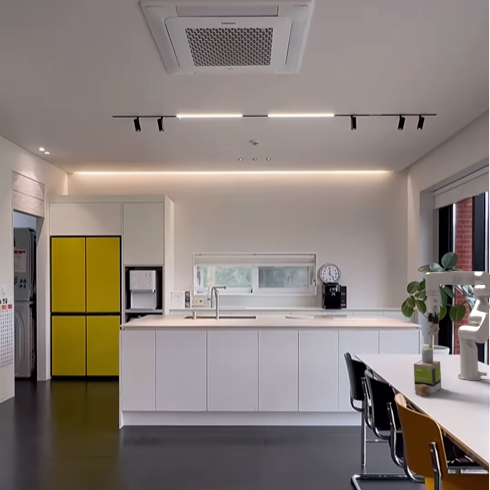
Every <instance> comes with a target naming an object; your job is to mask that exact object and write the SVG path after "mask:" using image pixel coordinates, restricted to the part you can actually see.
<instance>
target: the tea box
mask: <svg viewBox="0 0 490 490" xmlns="http://www.w3.org/2000/svg"><path fill="white" fill-rule="evenodd" d="M441 373H442V372H441V361H439V360H433V363H424V362H422V359H421V360H419V361H417V362H416V363H414V364H413V378H414V386H415V385H416V384H425V385H427V386H429V388H430V394H434V393H436V392H437V391H439V390H440V389H442V374H441Z"/></svg>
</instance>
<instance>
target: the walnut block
mask: <svg viewBox="0 0 490 490" xmlns="http://www.w3.org/2000/svg"><path fill="white" fill-rule="evenodd" d="M414 391H415V392H414V393H415V395H416V396H419V397H422V398H423V397H430V396H431V393H430V388H429V386H427V385H425V384H416V385H415V384H414Z"/></svg>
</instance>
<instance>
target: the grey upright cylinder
mask: <svg viewBox="0 0 490 490" xmlns="http://www.w3.org/2000/svg"><path fill="white" fill-rule="evenodd" d="M421 360H422V362H424V363H433V361H434V349H432V348H427V347H426V348H425V347H424V348H422V349H421Z"/></svg>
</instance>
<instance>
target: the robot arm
mask: <svg viewBox="0 0 490 490" xmlns="http://www.w3.org/2000/svg"><path fill="white" fill-rule="evenodd" d="M424 279H425V296H427V297H426V310H427V322H428V323H432V324H433V325H439V324H440V323H439V322H440V317H439V316H440V315H439V314H440V313H441V303H440V295H441V293H440V290H441V289H440V286H441V285H443V286H444V285H445V286H447V285H451V286H473V289H472V292H473V297H474V299H475V303H474V305H473V307H472V309H471V311H470V312H469V314H468V316H467V322H468V324H462V325H460V326H459V328H458V329H457V336H458V341H459V357H460V358H459V361H460V374H459V373H458V375H457V377H458V378H459V379H461V380H467V381H481V380H482V376H483V377H488V373H487V372H482V371H479V361H478V359H479V358H478V357H479V356H478V354H479V353H478V346H477V344H484V343H486V342H487V341H488V340H489V338H490V336H489V312H490V310H489V309H490V303H489V301H488V299H490V273H489V272H487V271H483V270H482V271H480V270H478V271H477V270H475V271H473V270H472V271H471V270H470V271H469V270H467V271H465V270H464V271H462V270H456V271H431V272H425V275H424ZM476 343H477V344H476Z"/></svg>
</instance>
